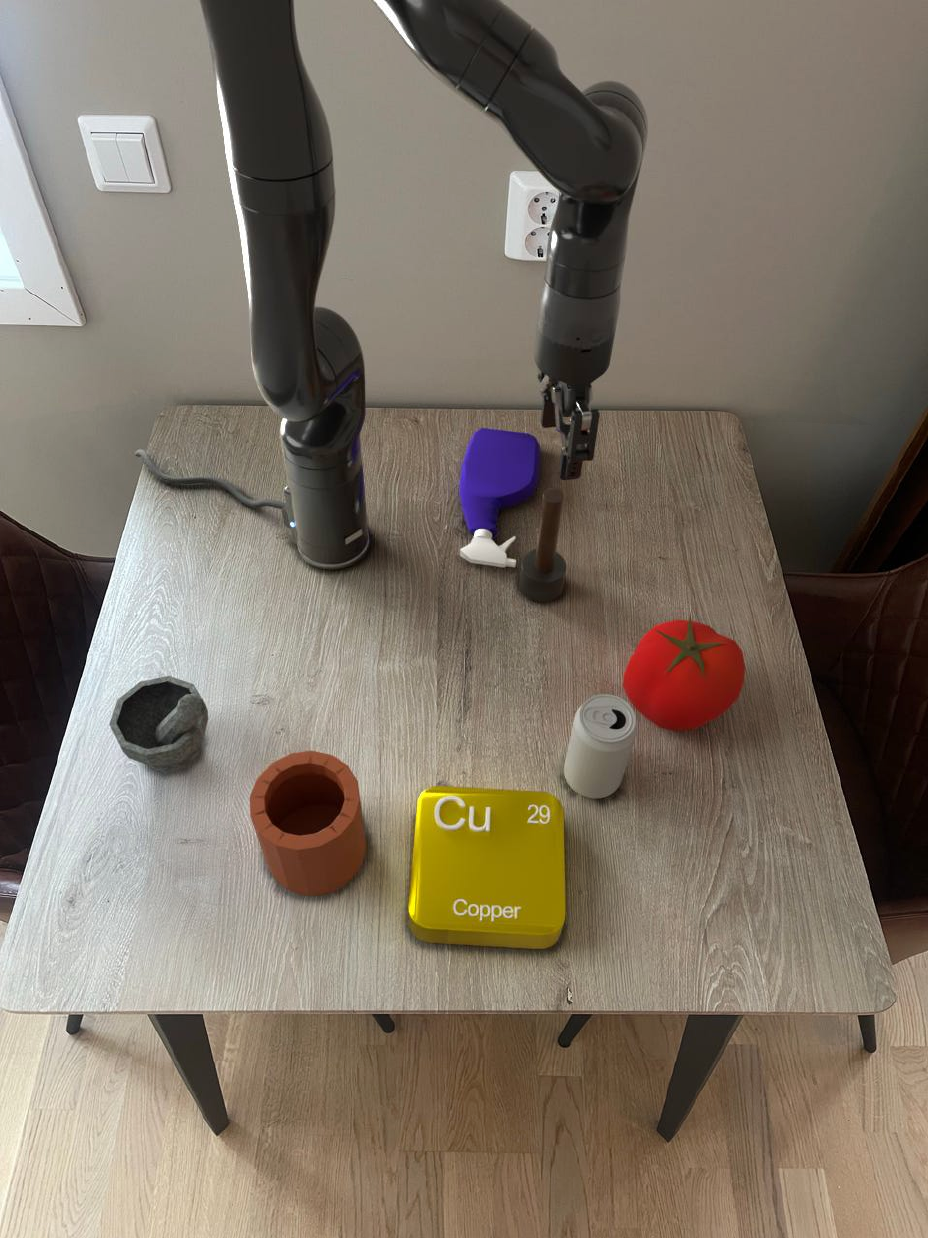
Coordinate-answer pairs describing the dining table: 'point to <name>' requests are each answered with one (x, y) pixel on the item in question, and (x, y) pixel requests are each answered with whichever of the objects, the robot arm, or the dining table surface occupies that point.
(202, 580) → the dining table surface
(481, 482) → the spray bottle
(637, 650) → the tomato
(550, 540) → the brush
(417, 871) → the element tile
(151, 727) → the mortar and pestle
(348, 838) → the jar
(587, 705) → the beverage can
